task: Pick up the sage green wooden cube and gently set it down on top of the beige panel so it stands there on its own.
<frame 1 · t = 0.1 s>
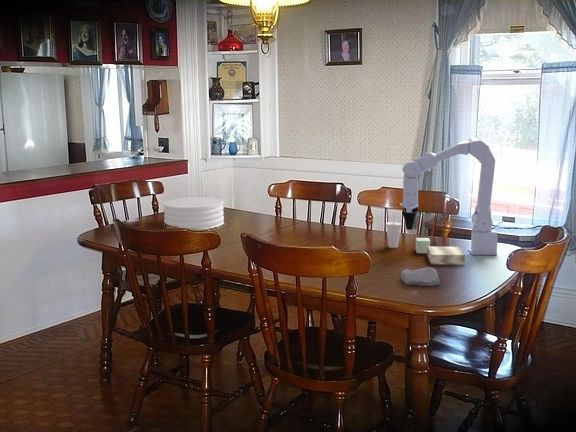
hand: (409, 227, 253), 10 cm above the table, tool pointing down, fingers open, 7 cm apart
stone block: (420, 283, 217), on the table
beige panel: (445, 260, 243), on the table
green block: (422, 251, 255), on the table
smoothie: (393, 247, 263), on the table
plate stack: (194, 226, 310), on the table
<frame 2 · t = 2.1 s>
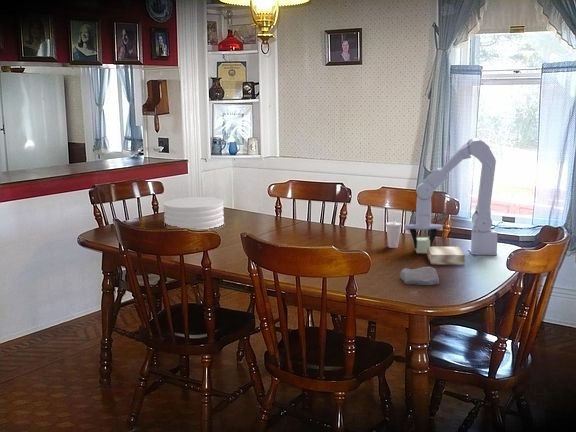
hand: (422, 248, 255), 1 cm above the table, tool pointing down, fingers closed on green block, 5 cm apart
green block: (422, 251, 255), on the table, touching gripper
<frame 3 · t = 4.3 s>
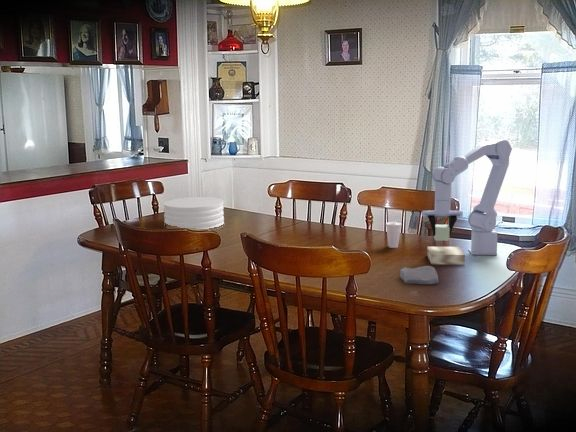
hand: (441, 235, 244), 9 cm above the table, tool pointing down, fingers closed on green block, 5 cm apart
green block: (441, 239, 244), point 7 cm above the table, touching gripper
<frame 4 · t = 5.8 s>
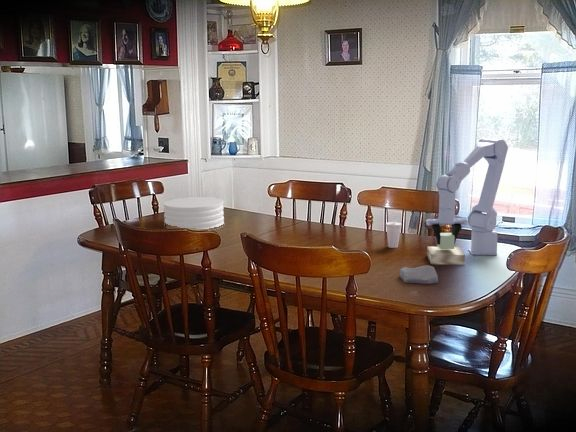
hand: (445, 243, 242), 6 cm above the table, tool pointing down, fingers closed on green block, 5 cm apart
green block: (445, 247, 242), point 5 cm above the table, touching gripper
when the fingers open (6 cm above the table, at t = 6.7 s): green block drops 1 cm, resting on beige panel.
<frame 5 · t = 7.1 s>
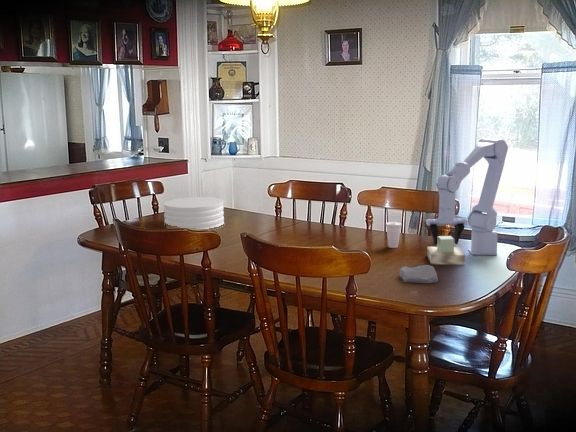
hand: (445, 243, 242), 6 cm above the table, tool pointing down, fingers open, 7 cm apart
beige panel: (445, 261, 243), on the table, touching green block
green block: (445, 250, 242), point 4 cm above the table, touching beige panel
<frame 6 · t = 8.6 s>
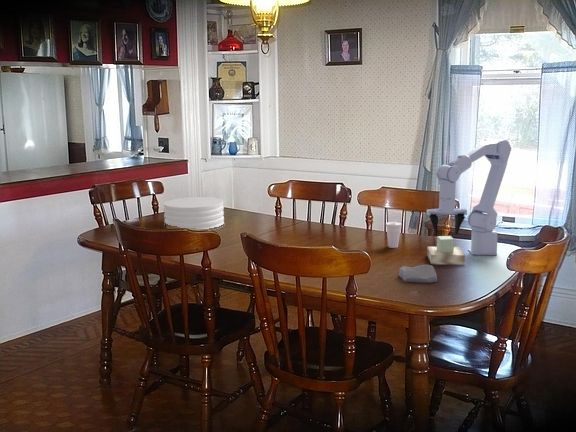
hand: (446, 233, 241), 10 cm above the table, tool pointing down, fingers open, 7 cm apart
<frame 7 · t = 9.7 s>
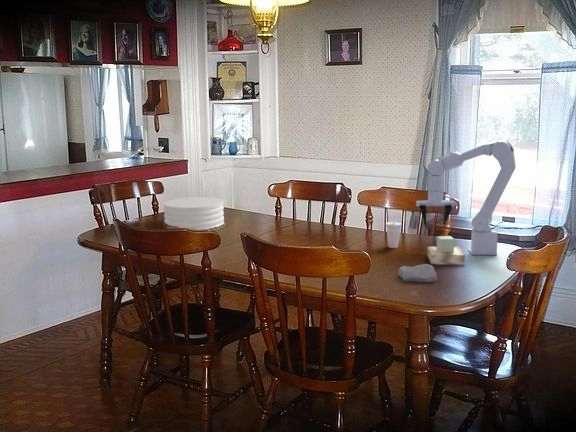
hand: (434, 224, 258), 10 cm above the table, tool pointing down, fingers open, 7 cm apart
beige panel: (445, 261, 243), on the table
green block: (445, 250, 242), point 4 cm above the table
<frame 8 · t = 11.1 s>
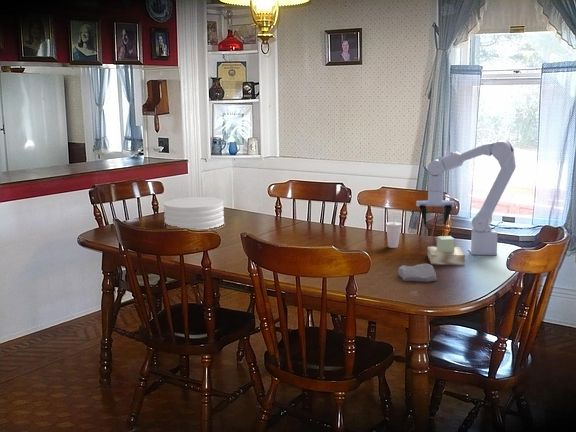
hand: (434, 224, 258), 10 cm above the table, tool pointing down, fingers open, 7 cm apart
beige panel: (445, 261, 243), on the table, touching green block
green block: (445, 250, 242), point 4 cm above the table, touching beige panel
at the end: green block inside the target area on the beige panel (0.1 cm from its centre), point 4.0 cm above the beige panel's base; green block tilted 0°; the gripper is holding nothing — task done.
